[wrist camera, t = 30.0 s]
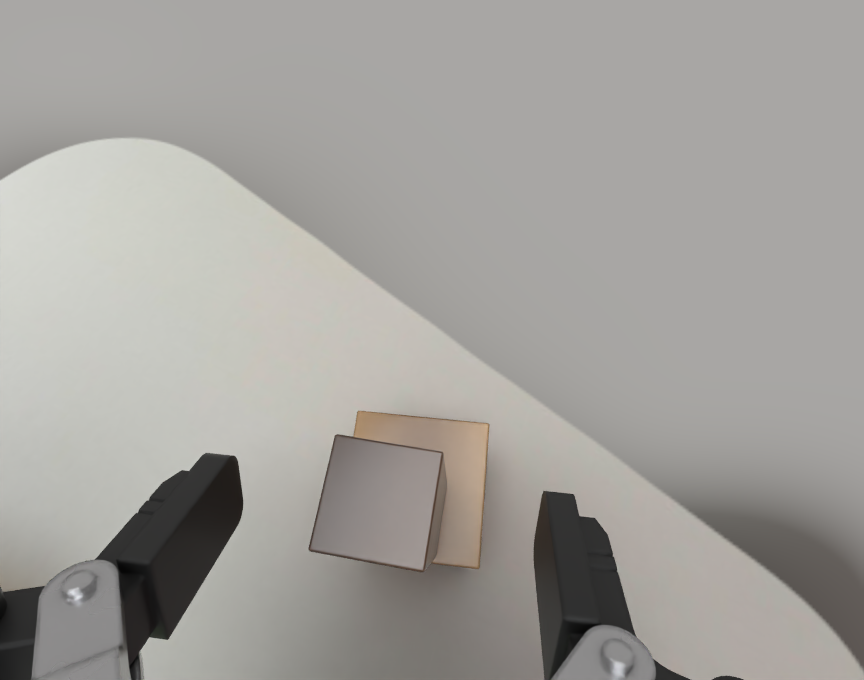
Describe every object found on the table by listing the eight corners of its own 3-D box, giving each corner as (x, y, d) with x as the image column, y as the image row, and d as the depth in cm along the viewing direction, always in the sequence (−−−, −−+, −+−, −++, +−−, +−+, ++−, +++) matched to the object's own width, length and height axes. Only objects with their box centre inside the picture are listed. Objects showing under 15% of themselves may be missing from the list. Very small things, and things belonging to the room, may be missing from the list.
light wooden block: (480, 450, 30) (489, 423, 23) (472, 560, 28) (479, 569, 21) (380, 440, 31) (357, 410, 23) (365, 547, 29) (334, 551, 21)
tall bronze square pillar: (447, 483, 22) (444, 451, 14) (436, 557, 21) (424, 573, 13) (379, 471, 22) (334, 433, 14) (364, 544, 21) (307, 551, 13)
